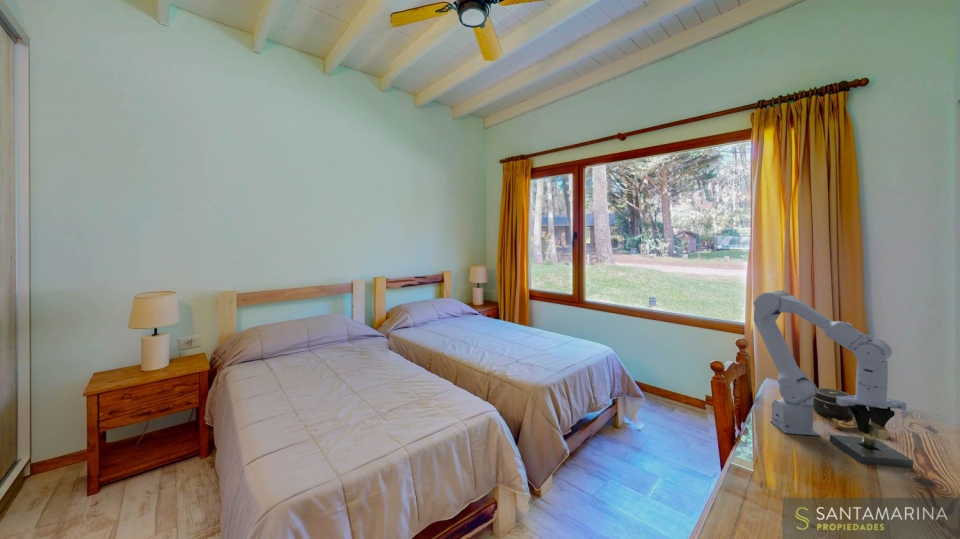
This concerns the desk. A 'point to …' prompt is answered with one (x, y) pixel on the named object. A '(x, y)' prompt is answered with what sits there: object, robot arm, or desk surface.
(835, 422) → the figurine
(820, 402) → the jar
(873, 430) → the t key
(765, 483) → the desk surface
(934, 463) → the desk surface
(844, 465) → the desk surface
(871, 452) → the key plate
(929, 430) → the desk surface
